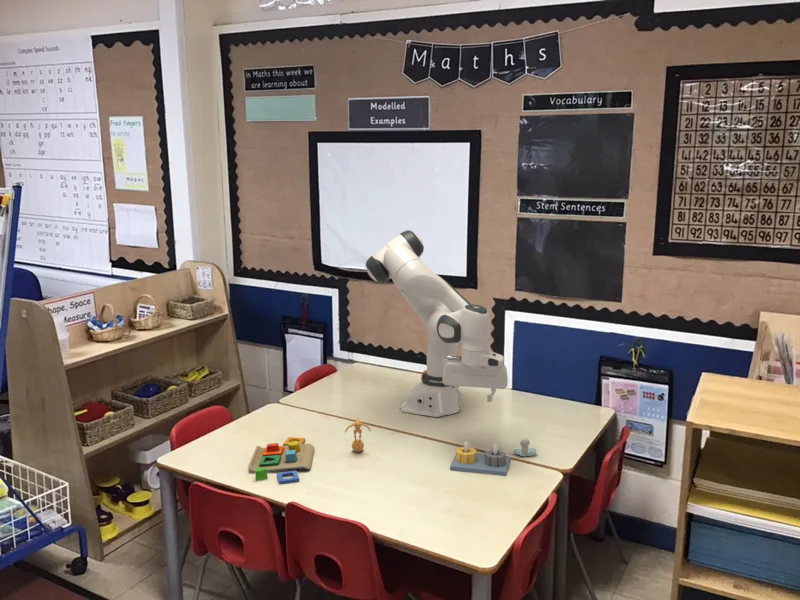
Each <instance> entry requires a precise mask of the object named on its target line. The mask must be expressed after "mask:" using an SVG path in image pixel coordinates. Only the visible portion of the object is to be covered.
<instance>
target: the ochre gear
mask: <svg viewBox="0 0 800 600" xmlns="http://www.w3.org/2000/svg"><path fill="white" fill-rule="evenodd" d="M477 454H478V453H477V449H475V448H474V447H470V446H468V452H464V446H461V447H458V448H456V449H455V455H456V461H457V462H459V463H462V464H471V463H474V462H476V456H477Z"/></svg>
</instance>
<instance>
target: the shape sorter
mask: <svg viewBox="0 0 800 600" xmlns="http://www.w3.org/2000/svg"><path fill="white" fill-rule="evenodd" d="M305 442H306V437H293V436H288V438H286V439H285V441H284V442H283V444H282V445H279V443H278V442H276V443H266V447H262V446H260V445H256V446H255V449H254V451H253V454H252V457H251V459H250V461H249V463H248V470H249V472H251V473H255V482H259V481H262V480H263V481H264V480H267V479H268V477H269V476H268V472H275V471H277V473H276V478H277V483H278V484H279V485H287V484H291V483H293V484H294V483H298V482H300V477H299V474H298V471H297V470H296V469H299V470H300V469H305V470H307V471H310V470H311V468H312V464H313V460H314V454H315V446H314V445H313V444H311V443H305ZM287 470H288V471H287ZM289 470H290V471H289ZM279 471H282V472H279ZM284 477H285V478H284ZM286 477H288V478H286Z"/></svg>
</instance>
